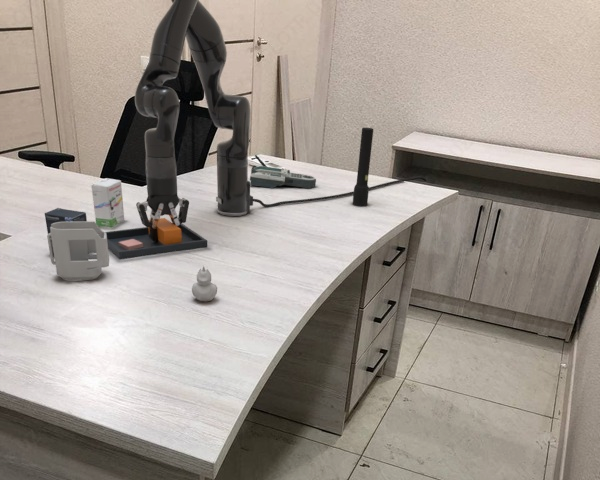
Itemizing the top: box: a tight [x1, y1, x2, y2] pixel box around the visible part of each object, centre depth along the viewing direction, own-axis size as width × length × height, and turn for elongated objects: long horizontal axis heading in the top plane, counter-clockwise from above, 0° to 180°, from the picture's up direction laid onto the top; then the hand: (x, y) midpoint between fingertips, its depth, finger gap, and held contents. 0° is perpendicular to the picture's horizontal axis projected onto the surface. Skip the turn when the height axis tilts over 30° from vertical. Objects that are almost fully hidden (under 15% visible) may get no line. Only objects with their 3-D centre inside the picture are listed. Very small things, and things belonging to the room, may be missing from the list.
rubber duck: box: [191, 265, 218, 302], centre depth 135 cm, size 5×7×8 cm
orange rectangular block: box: [148, 217, 182, 246], centre depth 164 cm, size 5×11×5 cm, turn 33°
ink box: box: [90, 177, 126, 228], centre depth 175 cm, size 8×5×12 cm, turn 167°
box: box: [44, 207, 88, 257], centre depth 152 cm, size 8×6×11 cm
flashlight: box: [352, 127, 374, 207], centre depth 205 cm, size 5×24×5 cm
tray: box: [98, 223, 208, 260], centre depth 164 cm, size 24×17×2 cm
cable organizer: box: [46, 220, 110, 281], centre depth 140 cm, size 7×12×12 cm, turn 103°
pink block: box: [118, 239, 143, 250], centre depth 161 cm, size 4×4×1 cm
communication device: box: [249, 154, 317, 189], centre depth 226 cm, size 12×24×9 cm, turn 89°
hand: (165, 240), depth 166 cm, fingers closed on orange rectangular block, 5 cm apart
